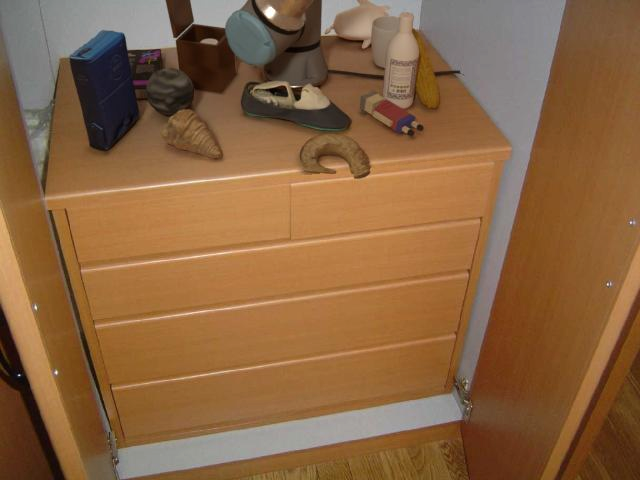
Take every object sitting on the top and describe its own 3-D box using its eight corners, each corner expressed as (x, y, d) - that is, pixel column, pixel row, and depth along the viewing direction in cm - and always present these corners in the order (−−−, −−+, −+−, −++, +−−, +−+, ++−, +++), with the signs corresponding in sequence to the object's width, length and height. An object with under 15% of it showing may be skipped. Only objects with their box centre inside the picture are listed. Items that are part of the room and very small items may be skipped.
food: (396, 44, 155) (389, 30, 150) (418, 32, 154) (412, 18, 149) (427, 117, 148) (420, 105, 142) (450, 106, 146) (445, 94, 141)
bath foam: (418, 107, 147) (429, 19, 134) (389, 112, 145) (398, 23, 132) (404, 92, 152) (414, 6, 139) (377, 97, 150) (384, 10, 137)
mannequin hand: (386, 46, 177) (400, 43, 166) (320, 54, 174) (331, 52, 163) (381, -3, 174) (395, -9, 163) (315, 5, 171) (324, -1, 160)
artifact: (313, 124, 133) (384, 141, 129) (314, 136, 136) (383, 153, 132) (289, 161, 127) (363, 180, 122) (291, 173, 129) (363, 193, 125)
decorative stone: (196, 123, 140) (191, 80, 133) (148, 126, 138) (141, 82, 132) (196, 100, 147) (192, 58, 141) (150, 102, 146) (144, 60, 139)
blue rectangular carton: (109, 155, 130) (88, 59, 117) (85, 150, 131) (61, 55, 118) (143, 119, 141) (127, 28, 128) (120, 115, 142) (102, 24, 129)
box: (159, 101, 147) (163, 60, 162) (157, 86, 145) (161, 46, 159) (95, 103, 146) (104, 61, 160) (91, 88, 143) (101, 47, 158)
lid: (185, -27, 144) (181, -27, 144) (166, -11, 137) (162, -12, 137) (194, 21, 151) (191, 21, 151) (176, 38, 144) (173, 38, 144)
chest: (236, 74, 157) (233, 29, 149) (221, 93, 150) (217, 46, 142) (197, 68, 158) (192, 23, 151) (181, 86, 152) (175, 40, 144)
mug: (367, 54, 166) (370, 15, 159) (403, 54, 166) (407, 15, 160) (372, 78, 156) (376, 38, 150) (410, 78, 157) (415, 38, 150)
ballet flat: (343, 139, 136) (345, 104, 130) (234, 119, 141) (231, 84, 136) (354, 119, 142) (356, 85, 136) (249, 100, 147) (247, 66, 142)
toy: (424, 135, 140) (373, 103, 147) (428, 118, 137) (376, 86, 144) (405, 145, 137) (354, 112, 144) (409, 128, 134) (356, 96, 141)
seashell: (216, 174, 133) (236, 142, 135) (213, 160, 125) (234, 126, 127) (157, 142, 134) (178, 110, 136) (150, 126, 126) (172, 92, 128)
